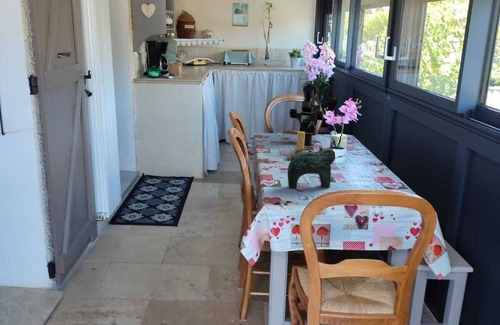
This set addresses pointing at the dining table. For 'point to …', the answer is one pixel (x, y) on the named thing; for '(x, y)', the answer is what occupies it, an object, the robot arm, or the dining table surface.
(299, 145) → the switch tab
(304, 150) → the switch housing
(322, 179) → the dark green animal figurine
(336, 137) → the ink box
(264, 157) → the dining table surface
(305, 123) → the robot arm
